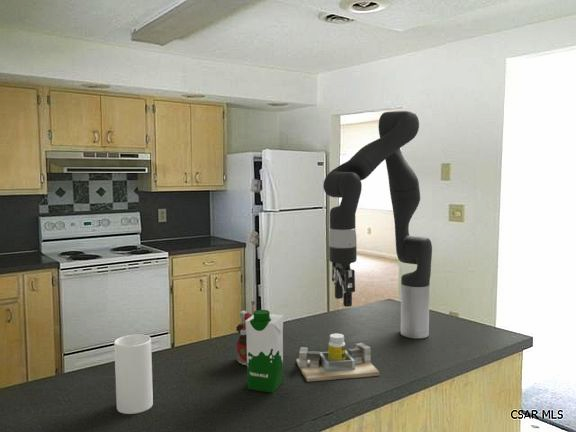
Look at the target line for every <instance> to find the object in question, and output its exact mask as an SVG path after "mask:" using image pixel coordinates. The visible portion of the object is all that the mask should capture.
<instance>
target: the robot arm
mask: <svg viewBox="0 0 576 432" xmlns="http://www.w3.org/2000/svg"><path fill="white" fill-rule="evenodd" d="M377 127H378V135H379V138H378V139H376V140H374V141H371V142H370V143H367V144H365V145H364V146H362V147H361V148H360V149H359V150H358V151H357V152H356V153H355V154H354V155H353V156H351V157H350V158H349V160H347V161H345V162H343V163H342V164H340V165H338V166H337V167H335V168H334V169H332V170H331V171H329V173H328V174H327V175H326V176H325V178H324V181H323V184H322V185H323V186H322V187H323V190H324V193H325V195H327V196H328V197H331V198H340V199H341V201H340V203H339V205H338V206H334V207H332V208H331V209H330V211H329V234H328V257H329V258H328V260H329V261H330V263H331V281H332V283H333V286H334V298H335V299H336V300H337V299H340V300H341V299H342V300H343V301H342V302H343V303H342V305H343V307H345V308H347V307H352V306H353V293H354V292H355V291H356V278H355V277H356V276H355V272H356V271H355V269H351V264H354V263H355V262H357V255H358V254H357V231H356V230H357V229H356V215H357V214H356V212H357V210H358V209H357V208H358V206H359V205H358V204H359V200H360V199H361V198H360V197H361V194H362V181H363V180H365V179H367V178H368V177H369V176H370V175H371V174H372V173H373V172H374V171H375V170H376V169H377V168H378V166H380V164H382V163H383V162H385V166H386V170H387V178H388V187H389V188H388V189H389V194H390V195H389V196H390V200H391V206H392V213H393V221H394V233H395V234H394V236H395V251H396V257H397V259H398V261H399V262H400V263H403V264H408V265H409V264H410V265H416V269H415V270H414V271H413V272H407V273H405V274H402V276H401V278H400V279H401V280H400V283H401V284H400V335H401V336H403V337H406V338H410V339H425V338H427V337H429V334H430V333H429V331H430V326H429V325H430V285H431V284H430V282H431V281H430V279H431V275H432V274H431V273H432V272H431V271H432V257H433V256H432V255H433V245H432V241H431V239H430V238H429V237H424V236H414V235H410V231H409V230H410V229H409V227H410V223H411V222H410V221H411V220H412V217H413V216H414V214H415V213H416V211H417V209H418V207H419V205H420V203H421V193H420V192H421V191H420V184H419V183H420V182H419V179H418V175H416V173H415V171H414V170H413V168H412V167H411V166H410V165H409V163H408V162H407V160H406V159H405V157H404V155H403V153H402V150H401V148H402V147H404V146H405V145H407V144H408V143H410V142H411V141H412V140H413V139H414V138H415V137H416V136H417V134H418V133H419V129H420V119H419V117H418V115H417V114H416V113H415V112H414V111H412V110H393V111H385V112H382V113H381V115H380V116H379V120H378V125H377Z"/></svg>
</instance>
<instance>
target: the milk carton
mask: <svg viewBox="0 0 576 432" xmlns="http://www.w3.org/2000/svg"><path fill="white" fill-rule="evenodd" d="M251 315H252V314H251ZM244 323H245V324H246V335H247V365H246V375H247V380H246V381H247V390H251V391H252V390H253V391H257V392H263V393H264V392H265V393H266V392H267V393H272V394H273V393H275V391H277V389H278V388H279V387H280V385H281V384H282V383H283V379H284V378H283V377H284V371H283V370H284V353H283V352H284V341H283V339H284V338H283V337H284V336H283V335H284V334H283V333H284V329H283V328H284V315H283V314H275V313H271V312H270V311H269V310H266V309H258V310H255V311H254V315H252V316H251V317H250V318H248V319H247V320H246V321H245V320H244Z"/></svg>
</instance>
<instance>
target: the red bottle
mask: <svg viewBox="0 0 576 432" xmlns="http://www.w3.org/2000/svg"><path fill="white" fill-rule="evenodd" d="M254 311H256V302H255V300H251V313H250V312H247V311H246V310H241V311H240V312H239V314H238V315H239V318H240V319H244V323H243V322H242V323H241V322H240V323H239V324H237V326H236V332H238V334H240V336H239V337H238V340H237V342H236V346H237V347H236V351H237V353H238V356H237V358H236V359H237V362H238V363H239V364H241V365H243V366H244V365H245V366H247V335H246V324H245V321H246V320H247V319H248V318H250V317H251V316H252V315H254Z"/></svg>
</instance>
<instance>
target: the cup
mask: <svg viewBox="0 0 576 432" xmlns="http://www.w3.org/2000/svg"><path fill="white" fill-rule="evenodd" d="M113 342H114V344H113V345H114V348H113V349H114V368H115V369H114V372H115V399H116V400H115V401H116V410H117V412H118V413H121V414H124V415H133V414H140V413H143V412H146V411H148V410H149V409H151V408H152V407H153V404H154V399H153V397H154V396H153V389H154V388H153V363H152V362H153V361H152V360H153V359H152V358H153V357H152V338H151V336H149V335H145V334H128V335H123V336H121V337H118V338H116V339H115V340H114V341H113Z"/></svg>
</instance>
